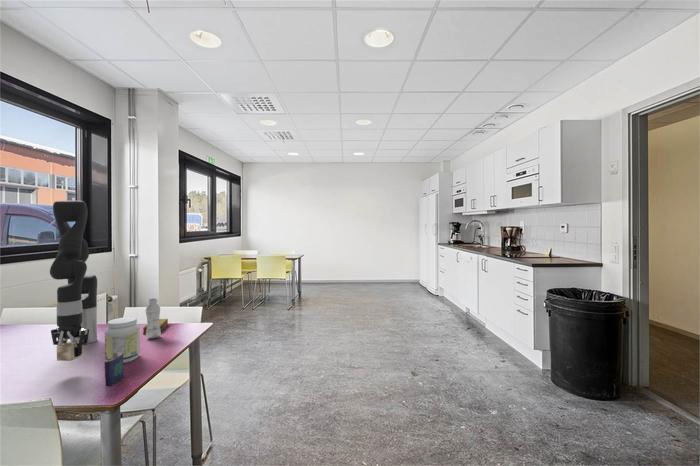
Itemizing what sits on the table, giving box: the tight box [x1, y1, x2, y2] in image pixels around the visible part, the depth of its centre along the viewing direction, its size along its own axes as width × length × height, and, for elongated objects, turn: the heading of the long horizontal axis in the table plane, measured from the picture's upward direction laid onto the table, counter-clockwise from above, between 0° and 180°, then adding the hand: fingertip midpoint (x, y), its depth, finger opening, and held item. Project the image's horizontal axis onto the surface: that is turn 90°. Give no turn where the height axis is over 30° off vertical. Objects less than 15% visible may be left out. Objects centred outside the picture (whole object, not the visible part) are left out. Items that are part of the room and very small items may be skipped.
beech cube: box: [56, 340, 85, 362], centre depth 124 cm, size 6×6×6 cm
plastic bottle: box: [145, 298, 162, 340], centre depth 165 cm, size 6×7×20 cm
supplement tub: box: [104, 316, 141, 364], centre depth 138 cm, size 12×12×17 cm
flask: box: [104, 352, 125, 387], centre depth 118 cm, size 9×3×11 cm, turn 8°
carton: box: [142, 318, 169, 335], centre depth 180 cm, size 8×16×4 cm, turn 17°
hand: (70, 355), depth 124 cm, fingers closed on beech cube, 5 cm apart
